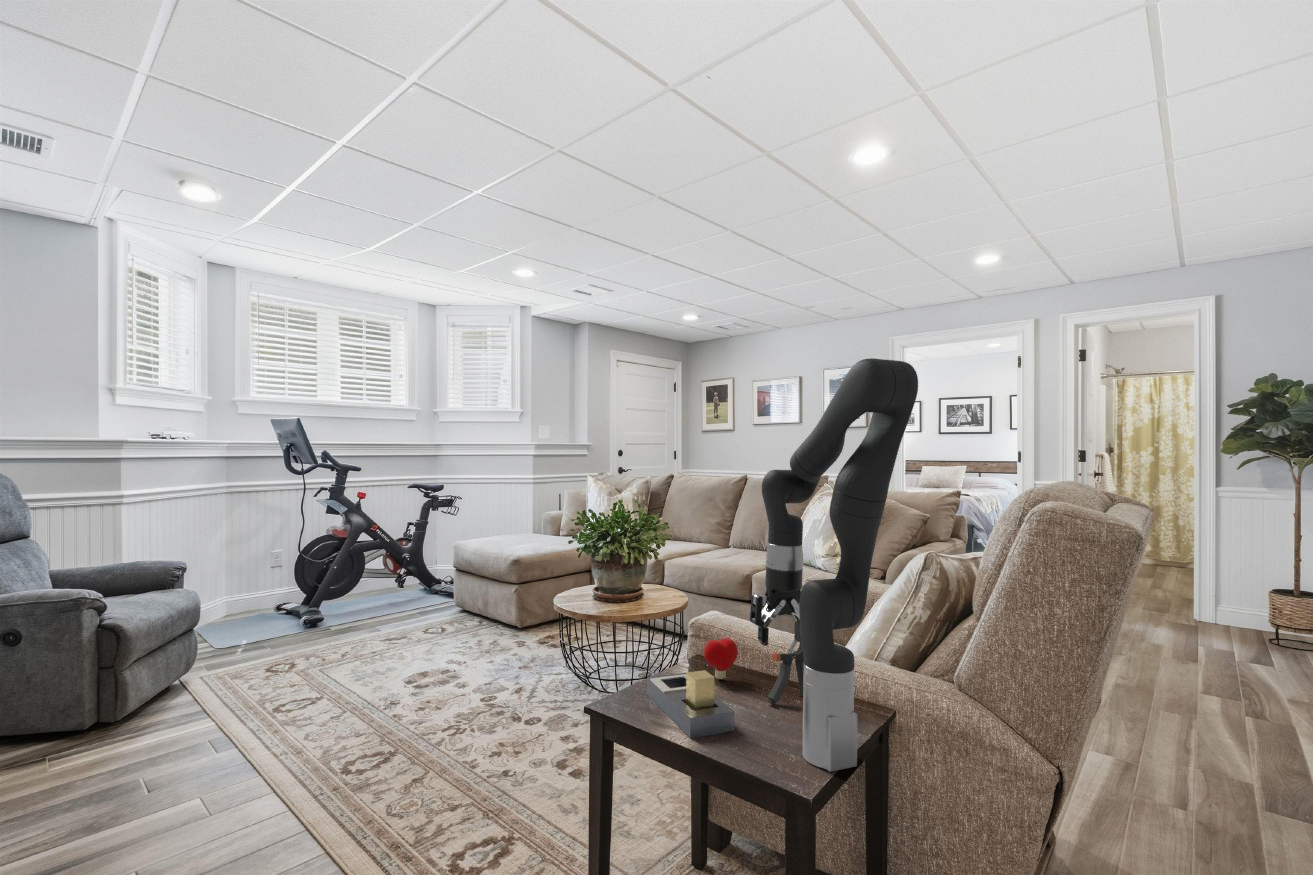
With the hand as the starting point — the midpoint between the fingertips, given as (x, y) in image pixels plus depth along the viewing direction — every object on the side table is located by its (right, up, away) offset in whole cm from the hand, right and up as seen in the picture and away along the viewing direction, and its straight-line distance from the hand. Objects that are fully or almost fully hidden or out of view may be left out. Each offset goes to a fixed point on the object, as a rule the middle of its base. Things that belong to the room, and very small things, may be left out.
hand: (781, 642), depth 129 cm
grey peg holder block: (-19, -18, +7) cm, 27 cm away
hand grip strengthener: (+5, -19, +14) cm, 24 cm away
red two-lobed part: (-10, -19, +27) cm, 34 cm away
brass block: (-17, -17, +1) cm, 24 cm away
